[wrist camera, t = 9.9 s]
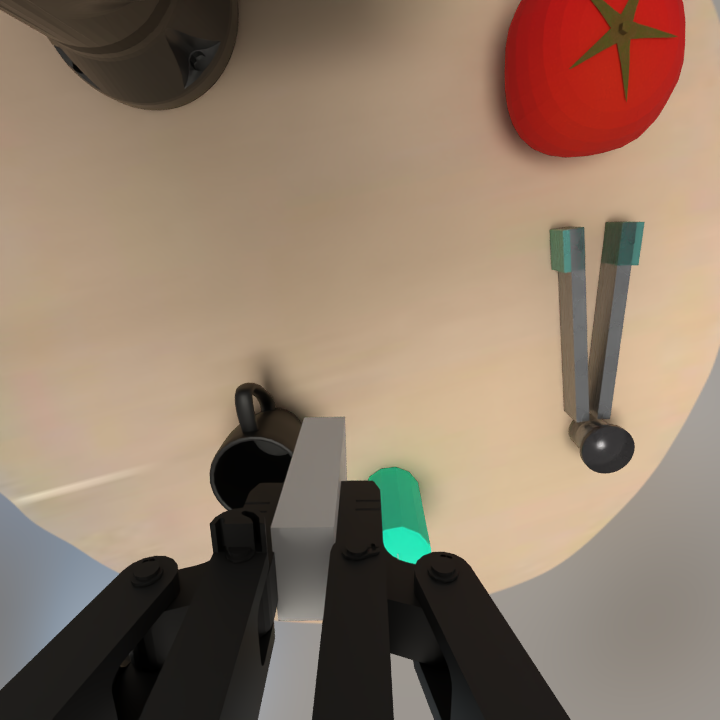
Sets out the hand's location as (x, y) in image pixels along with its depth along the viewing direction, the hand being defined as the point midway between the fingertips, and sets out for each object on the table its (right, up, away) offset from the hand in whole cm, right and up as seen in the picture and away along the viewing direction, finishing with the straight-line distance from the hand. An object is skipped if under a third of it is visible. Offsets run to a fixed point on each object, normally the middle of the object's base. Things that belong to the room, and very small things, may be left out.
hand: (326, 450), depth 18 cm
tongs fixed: (+24, +5, +29) cm, 38 cm away
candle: (+5, -11, +34) cm, 36 cm away
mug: (-7, -2, +32) cm, 33 cm away
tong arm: (+21, +7, +28) cm, 36 cm away
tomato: (+18, +27, +23) cm, 40 cm away
